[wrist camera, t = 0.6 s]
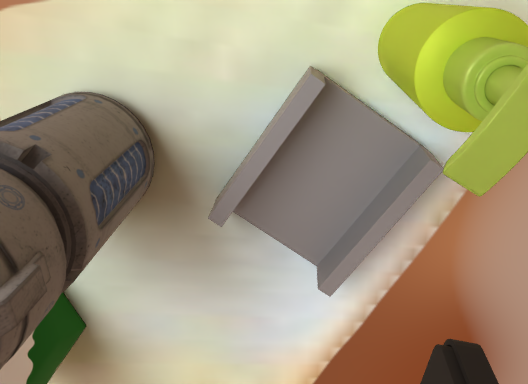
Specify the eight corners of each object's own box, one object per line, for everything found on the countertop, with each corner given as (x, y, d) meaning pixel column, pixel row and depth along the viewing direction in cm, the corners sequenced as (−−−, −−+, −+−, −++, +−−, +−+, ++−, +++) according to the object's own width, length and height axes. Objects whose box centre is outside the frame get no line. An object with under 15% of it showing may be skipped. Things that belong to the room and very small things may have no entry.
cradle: (310, 64, 37) (310, 73, 33) (429, 150, 39) (444, 169, 35) (217, 195, 42) (207, 218, 37) (327, 267, 43) (330, 296, 39)
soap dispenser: (353, 72, 37) (401, 150, 19) (411, -14, 35) (533, -24, 16) (417, 113, 38) (525, 228, 19) (478, 32, 35) (669, 74, 17)
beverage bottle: (-6, 96, 40) (-435, 238, 17) (155, 82, 39) (-71, 215, 15) (28, 212, 44) (-285, 460, 20) (176, 203, 42) (20, 458, 19)
